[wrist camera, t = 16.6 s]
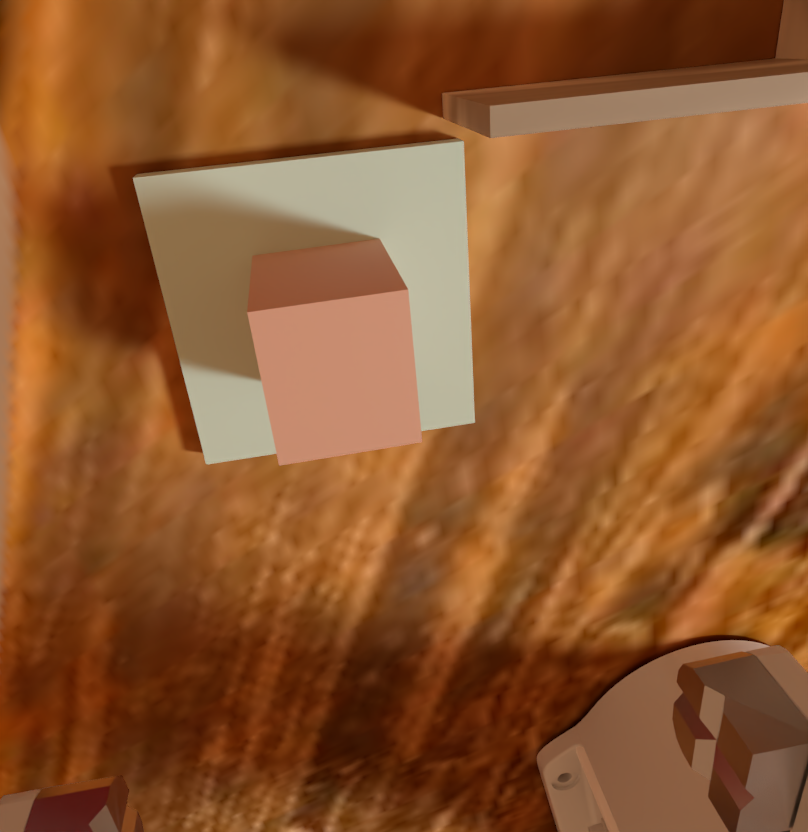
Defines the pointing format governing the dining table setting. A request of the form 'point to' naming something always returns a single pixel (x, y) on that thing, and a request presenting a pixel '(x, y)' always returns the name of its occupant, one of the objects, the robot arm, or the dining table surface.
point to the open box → (643, 91)
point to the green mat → (298, 229)
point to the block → (334, 350)
